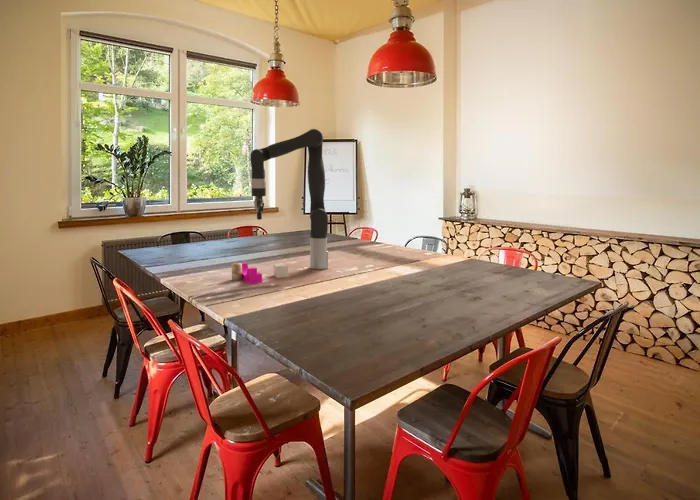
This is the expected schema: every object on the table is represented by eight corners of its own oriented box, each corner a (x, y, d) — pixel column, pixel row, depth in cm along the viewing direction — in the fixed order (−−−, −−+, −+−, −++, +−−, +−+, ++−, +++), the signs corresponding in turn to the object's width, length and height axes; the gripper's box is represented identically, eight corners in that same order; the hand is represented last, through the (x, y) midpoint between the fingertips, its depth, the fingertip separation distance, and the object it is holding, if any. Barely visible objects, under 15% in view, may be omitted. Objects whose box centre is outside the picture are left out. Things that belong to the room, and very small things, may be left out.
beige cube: (284, 274, 240) (284, 263, 239) (288, 277, 234) (288, 265, 233) (273, 275, 237) (273, 264, 236) (276, 278, 232) (276, 266, 231)
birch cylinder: (241, 278, 230) (241, 262, 228) (243, 280, 225) (242, 264, 224) (231, 279, 228) (230, 263, 226) (232, 281, 223) (232, 265, 222)
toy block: (262, 283, 222) (261, 267, 221) (249, 284, 219) (249, 269, 217) (251, 276, 234) (250, 262, 233) (239, 277, 231) (238, 263, 230)
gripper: (268, 187, 242) (269, 220, 245) (262, 186, 253) (262, 217, 257) (254, 187, 239) (255, 220, 242) (248, 186, 250) (249, 218, 253)
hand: (259, 219), depth 249 cm, fingers closed
